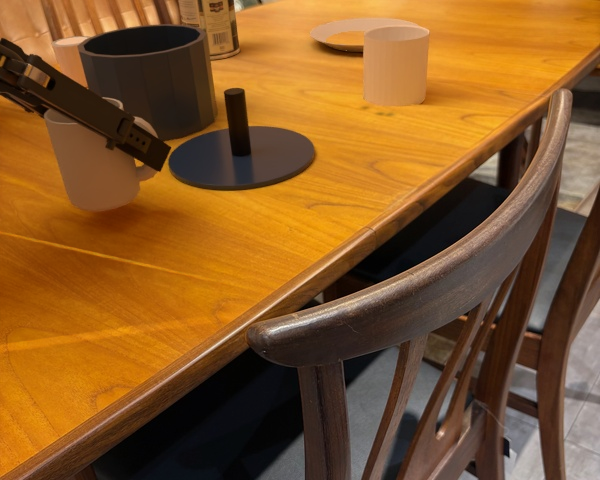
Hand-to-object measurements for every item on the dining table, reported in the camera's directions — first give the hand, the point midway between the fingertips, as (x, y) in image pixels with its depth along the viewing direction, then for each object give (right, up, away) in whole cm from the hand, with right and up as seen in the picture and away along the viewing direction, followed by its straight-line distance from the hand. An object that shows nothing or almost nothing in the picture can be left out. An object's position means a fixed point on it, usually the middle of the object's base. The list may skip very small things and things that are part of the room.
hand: (135, 148), depth 63 cm
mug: (+32, +15, +28) cm, 45 cm away
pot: (-3, +10, +24) cm, 27 cm away
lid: (+10, +2, +12) cm, 16 cm away
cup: (-2, -5, 0) cm, 5 cm away
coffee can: (0, +32, +54) cm, 63 cm away
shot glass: (-20, +22, +43) cm, 52 cm away
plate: (+29, +33, +54) cm, 70 cm away
